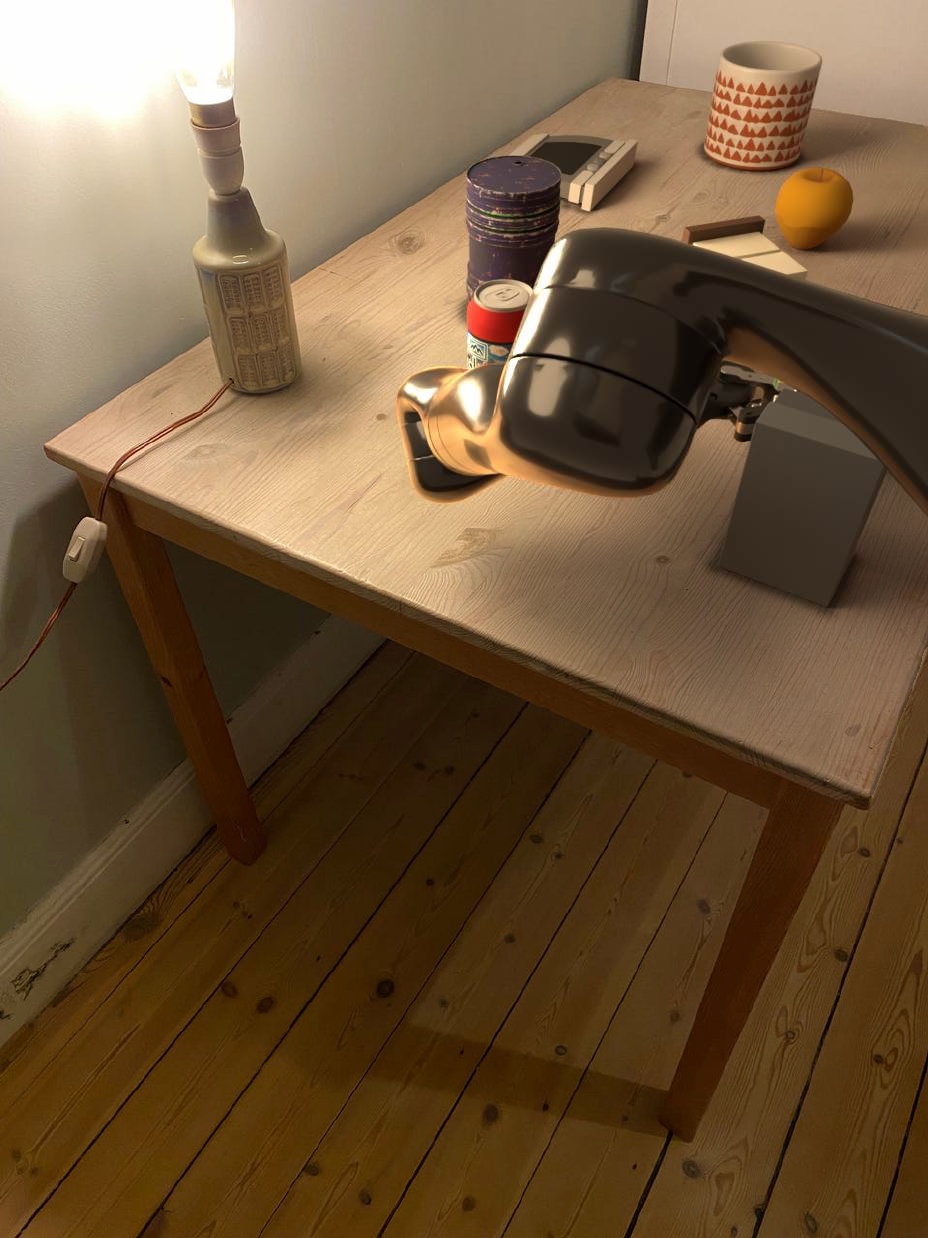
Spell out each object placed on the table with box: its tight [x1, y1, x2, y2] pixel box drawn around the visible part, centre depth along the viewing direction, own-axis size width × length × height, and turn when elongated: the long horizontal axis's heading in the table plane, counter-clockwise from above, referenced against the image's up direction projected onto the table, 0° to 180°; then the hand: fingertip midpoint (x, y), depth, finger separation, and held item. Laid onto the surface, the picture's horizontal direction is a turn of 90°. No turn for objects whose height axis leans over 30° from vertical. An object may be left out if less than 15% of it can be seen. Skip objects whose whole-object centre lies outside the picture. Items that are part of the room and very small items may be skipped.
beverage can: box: [466, 279, 533, 369], centre depth 86 cm, size 7×7×12 cm
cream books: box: [681, 214, 808, 401], centre depth 88 cm, size 10×8×14 cm
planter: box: [703, 40, 823, 172], centre depth 129 cm, size 14×14×13 cm
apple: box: [774, 167, 854, 251], centre depth 110 cm, size 9×9×9 cm
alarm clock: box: [507, 132, 639, 212], centre depth 127 cm, size 17×5×16 cm
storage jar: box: [465, 154, 562, 307], centre depth 98 cm, size 10×10×15 cm
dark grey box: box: [717, 388, 888, 608], centre depth 69 cm, size 9×6×14 cm
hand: (809, 363), depth 78 cm, fingers open, 8 cm apart
